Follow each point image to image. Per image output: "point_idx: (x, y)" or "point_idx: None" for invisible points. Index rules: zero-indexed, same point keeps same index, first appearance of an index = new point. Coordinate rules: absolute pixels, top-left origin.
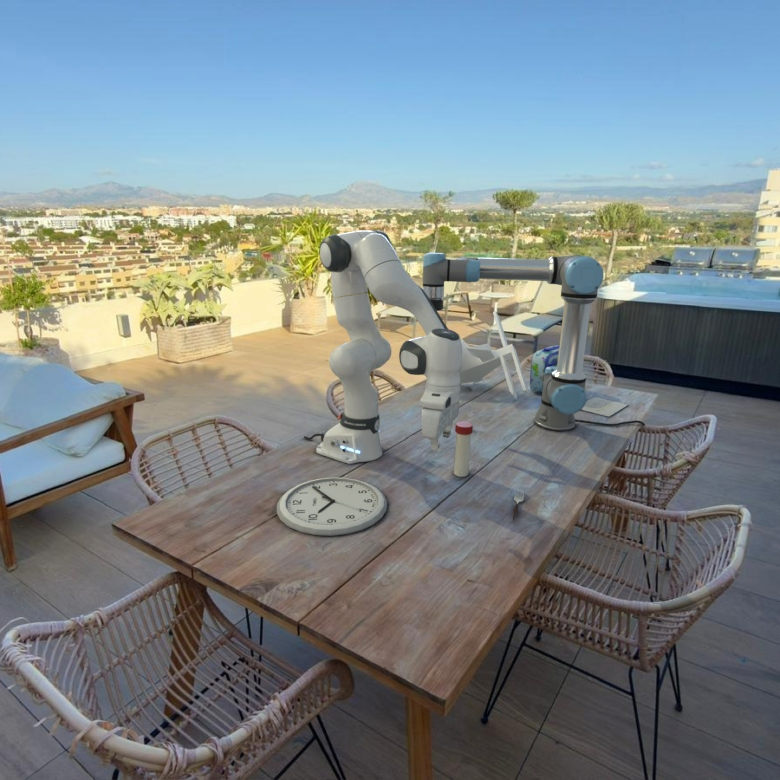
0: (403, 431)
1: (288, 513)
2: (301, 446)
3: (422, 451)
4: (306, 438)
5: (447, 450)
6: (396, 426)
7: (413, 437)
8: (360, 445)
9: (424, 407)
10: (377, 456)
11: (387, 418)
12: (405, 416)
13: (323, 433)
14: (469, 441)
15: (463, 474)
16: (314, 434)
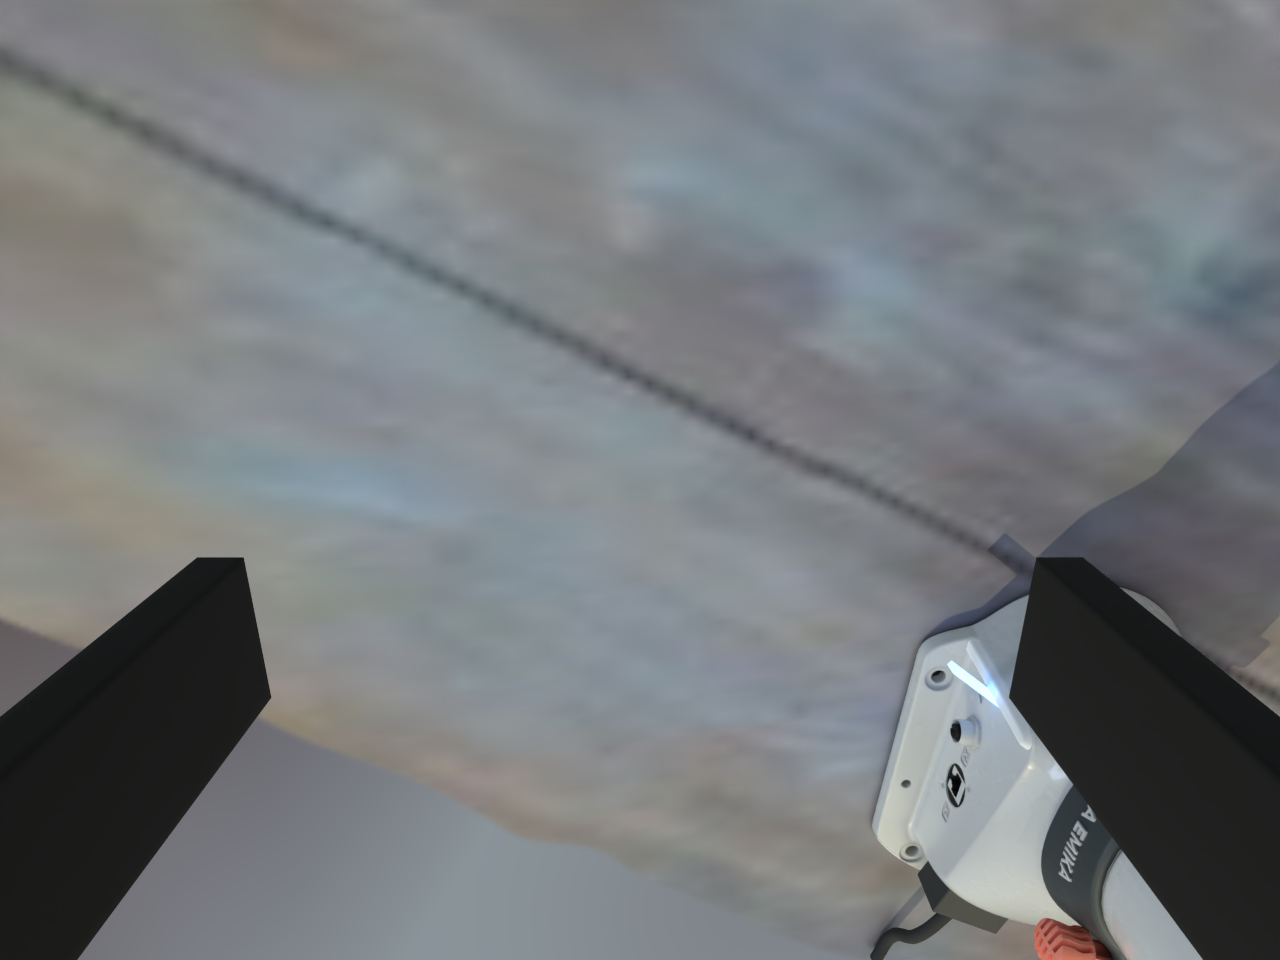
0: (705, 499)
1: None
2: (968, 942)
3: (1042, 352)
4: (888, 948)
5: (1028, 176)
6: (621, 550)
7: (805, 427)
8: None
9: None
10: (1151, 606)
11: (484, 620)
12: (412, 511)
13: (995, 924)
14: None
15: None
16: (916, 942)
